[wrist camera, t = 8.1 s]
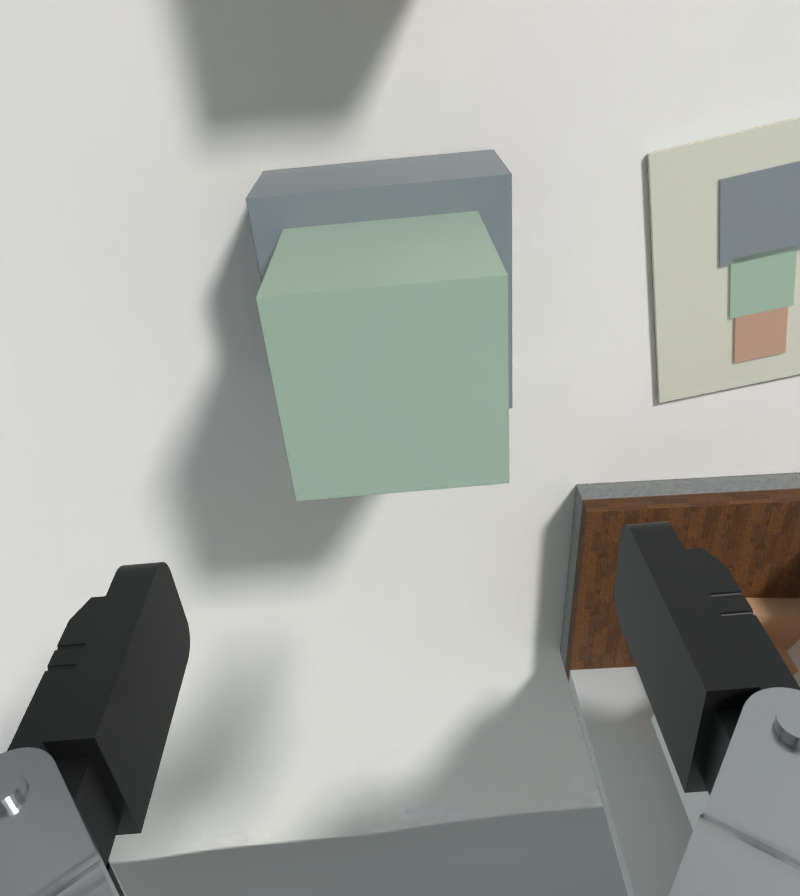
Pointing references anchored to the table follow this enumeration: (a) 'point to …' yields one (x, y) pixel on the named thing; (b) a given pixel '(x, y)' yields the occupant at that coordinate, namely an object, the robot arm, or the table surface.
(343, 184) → the base brick
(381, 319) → the brick sage
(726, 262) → the page
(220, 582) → the table surface
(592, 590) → the white square tower
